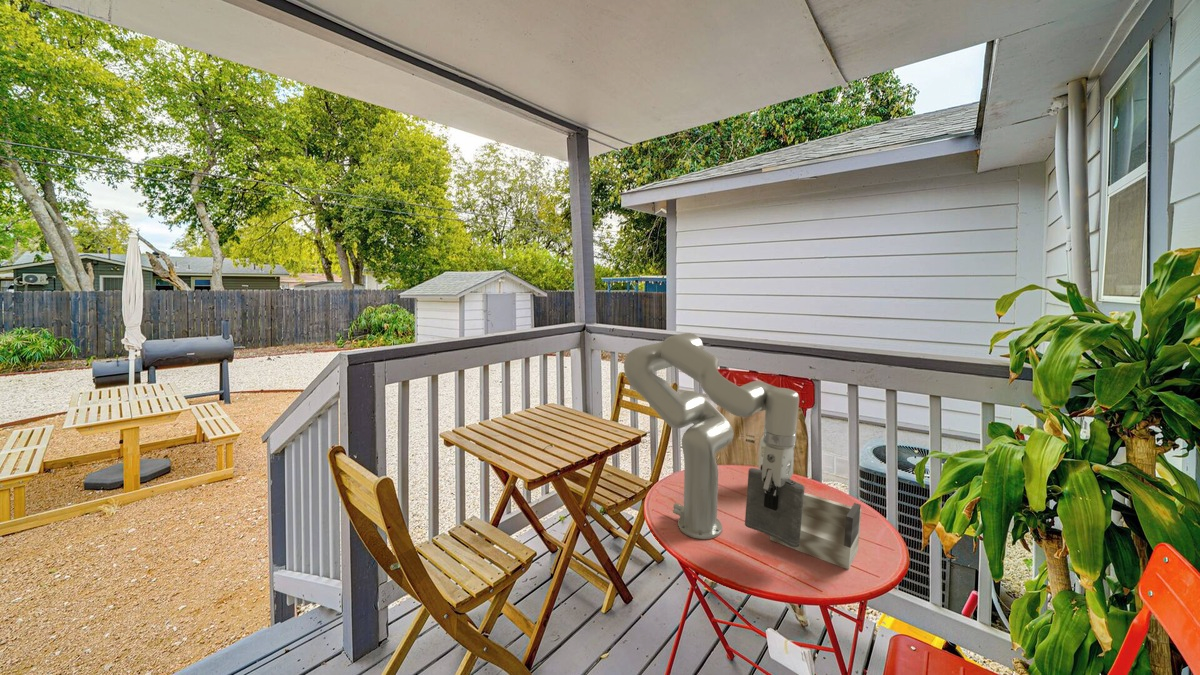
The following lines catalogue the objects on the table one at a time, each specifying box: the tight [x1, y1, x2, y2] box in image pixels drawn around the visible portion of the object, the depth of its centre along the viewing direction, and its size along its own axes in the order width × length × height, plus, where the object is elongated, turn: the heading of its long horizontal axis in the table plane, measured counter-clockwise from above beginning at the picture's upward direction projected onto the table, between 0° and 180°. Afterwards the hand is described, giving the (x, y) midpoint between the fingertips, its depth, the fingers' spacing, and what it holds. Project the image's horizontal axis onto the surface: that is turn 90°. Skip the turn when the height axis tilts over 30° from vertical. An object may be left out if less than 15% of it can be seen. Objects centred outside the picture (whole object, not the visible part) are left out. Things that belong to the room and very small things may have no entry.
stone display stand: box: [769, 492, 862, 570], centre depth 125 cm, size 20×10×14 cm, turn 50°
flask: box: [744, 467, 805, 547], centre depth 118 cm, size 4×14×18 cm, turn 45°
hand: (773, 504), depth 118 cm, fingers closed on flask, 3 cm apart
